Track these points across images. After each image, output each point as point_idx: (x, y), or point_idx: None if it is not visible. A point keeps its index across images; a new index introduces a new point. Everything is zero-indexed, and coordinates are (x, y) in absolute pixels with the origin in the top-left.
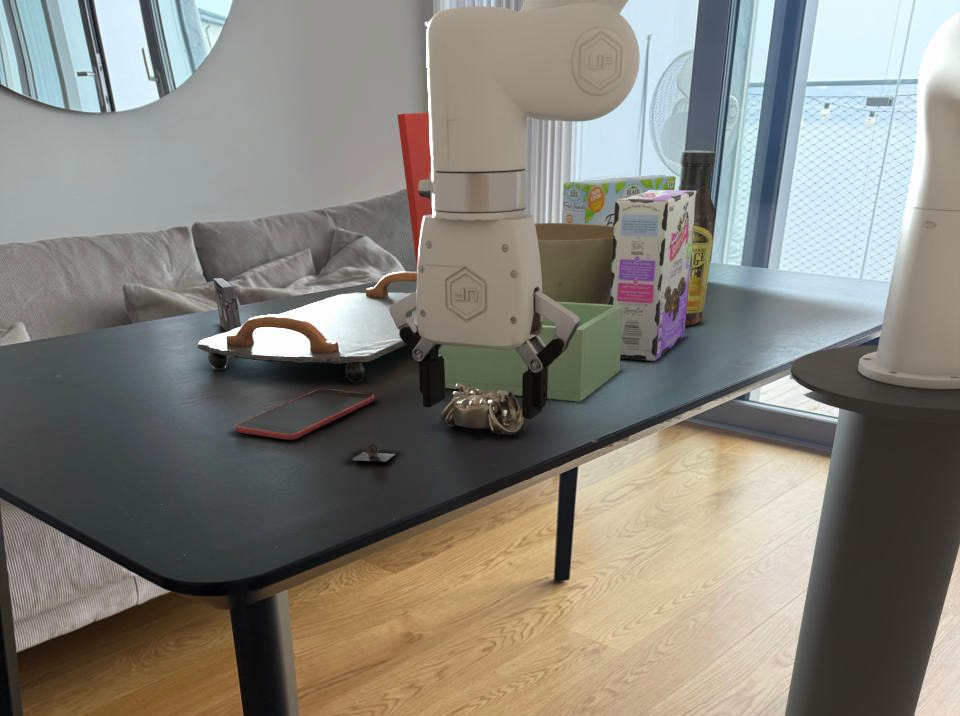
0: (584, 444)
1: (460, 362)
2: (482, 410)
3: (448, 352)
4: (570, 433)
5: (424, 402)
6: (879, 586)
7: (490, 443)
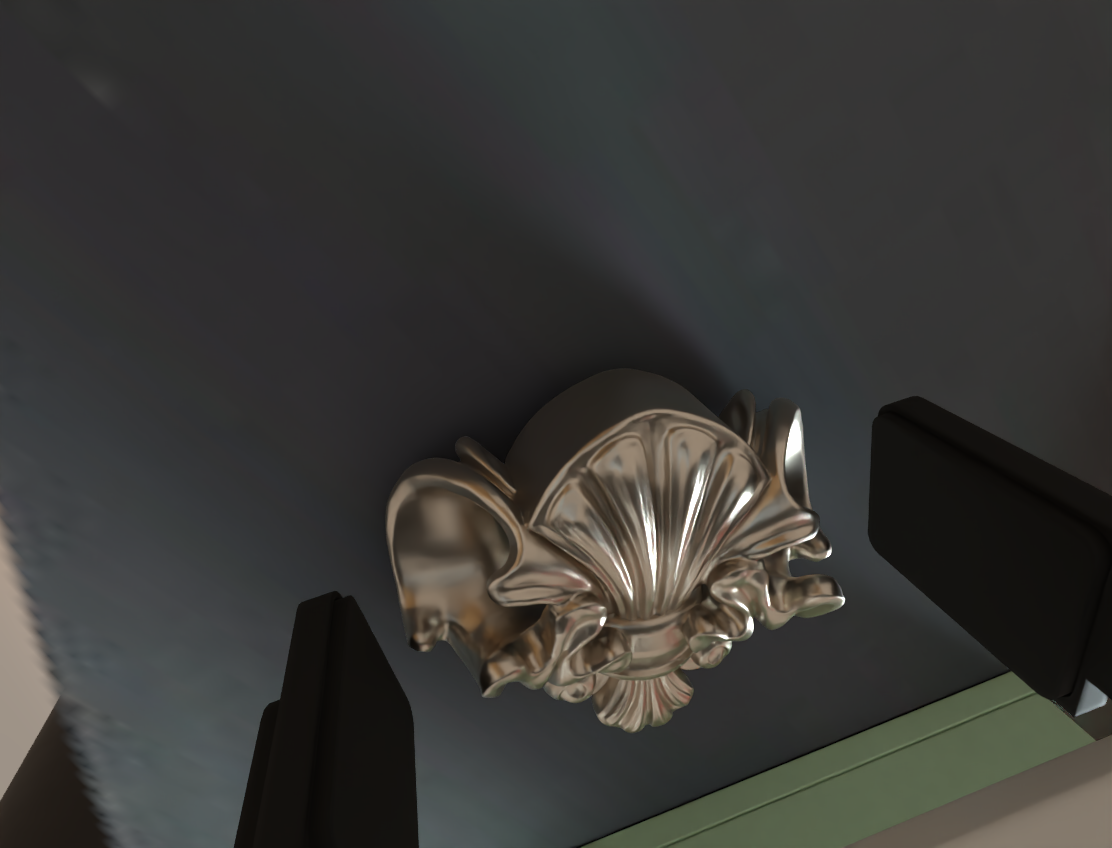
0: (42, 644)
1: None
2: (543, 480)
3: None
4: (235, 690)
5: (919, 403)
6: (24, 817)
7: (426, 374)
